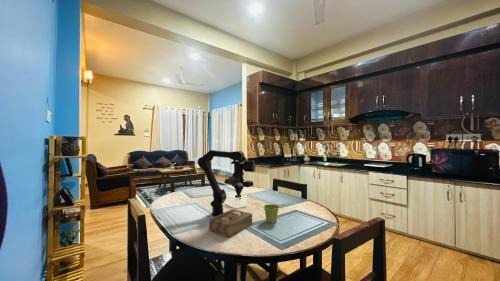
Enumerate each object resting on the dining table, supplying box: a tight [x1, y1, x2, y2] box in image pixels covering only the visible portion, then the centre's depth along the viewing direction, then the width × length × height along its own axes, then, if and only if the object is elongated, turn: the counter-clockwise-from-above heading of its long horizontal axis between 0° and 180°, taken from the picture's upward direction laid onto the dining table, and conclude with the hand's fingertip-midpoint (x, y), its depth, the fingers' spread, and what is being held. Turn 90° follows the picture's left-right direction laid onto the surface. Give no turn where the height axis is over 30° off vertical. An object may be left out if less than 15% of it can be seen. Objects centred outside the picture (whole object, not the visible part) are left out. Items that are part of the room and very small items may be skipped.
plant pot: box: [263, 203, 280, 224], centre depth 120 cm, size 9×9×9 cm
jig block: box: [208, 208, 253, 238], centre depth 112 cm, size 14×20×6 cm
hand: (238, 196), depth 127 cm, fingers closed
